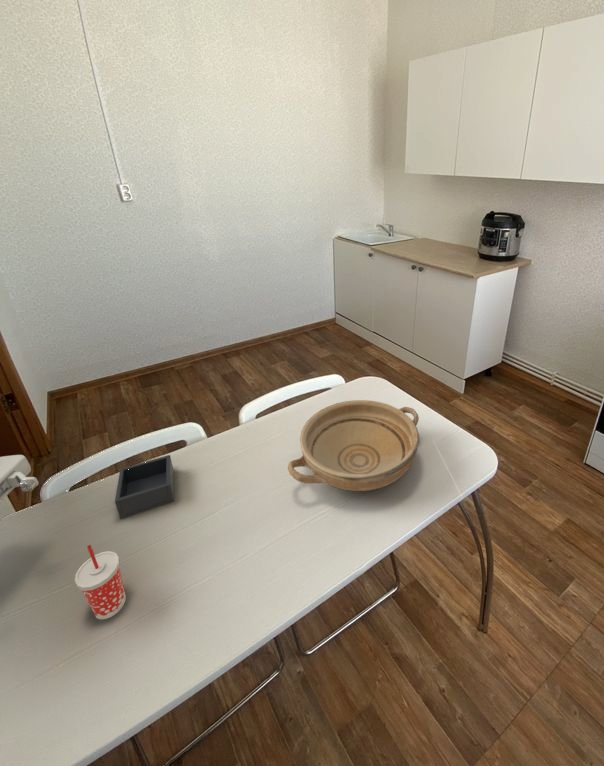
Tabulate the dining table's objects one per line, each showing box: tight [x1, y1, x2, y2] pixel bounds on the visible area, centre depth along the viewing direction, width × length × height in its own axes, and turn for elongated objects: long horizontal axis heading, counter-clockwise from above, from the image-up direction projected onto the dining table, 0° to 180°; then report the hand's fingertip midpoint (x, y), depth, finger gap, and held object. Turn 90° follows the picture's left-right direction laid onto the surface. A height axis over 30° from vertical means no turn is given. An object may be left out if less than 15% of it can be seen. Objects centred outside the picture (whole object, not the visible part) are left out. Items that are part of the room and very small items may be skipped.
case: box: [114, 454, 175, 520], centre depth 88 cm, size 11×11×5 cm
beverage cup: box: [74, 544, 127, 621], centre depth 63 cm, size 6×6×14 cm
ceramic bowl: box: [287, 399, 420, 492], centre depth 94 cm, size 37×29×10 cm
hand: (11, 508), depth 60 cm, fingers open, 8 cm apart
